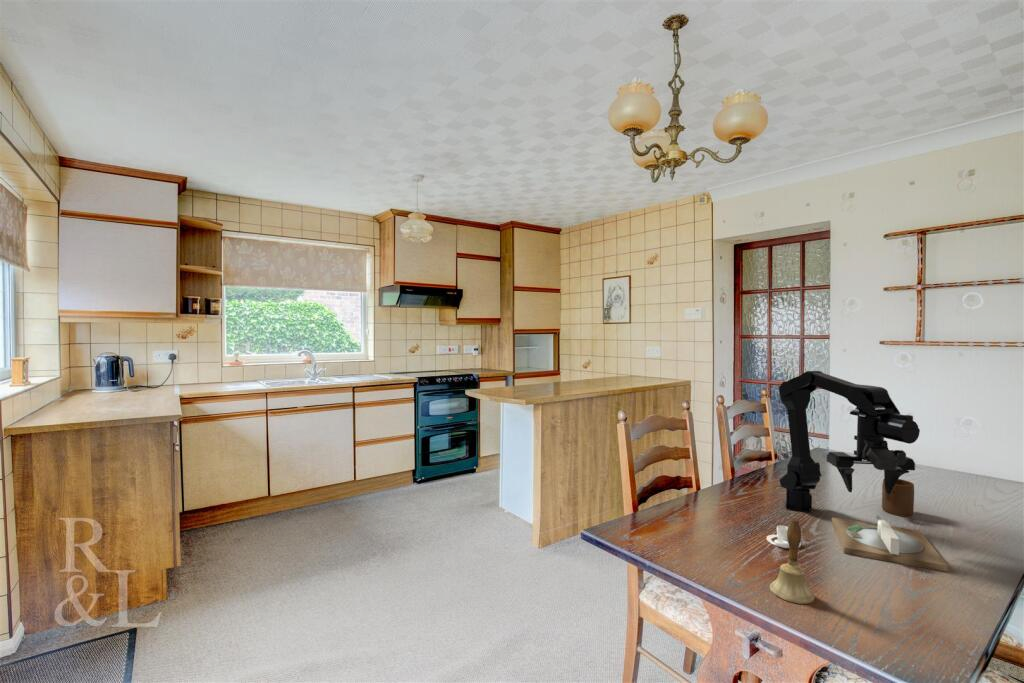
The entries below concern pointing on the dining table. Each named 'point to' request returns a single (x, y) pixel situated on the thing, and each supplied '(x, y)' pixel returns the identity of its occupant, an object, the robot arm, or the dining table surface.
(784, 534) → the teacup and saucer
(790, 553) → the hand bell
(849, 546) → the tuner board
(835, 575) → the dining table surface
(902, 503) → the mug
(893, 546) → the dial pointer lever
